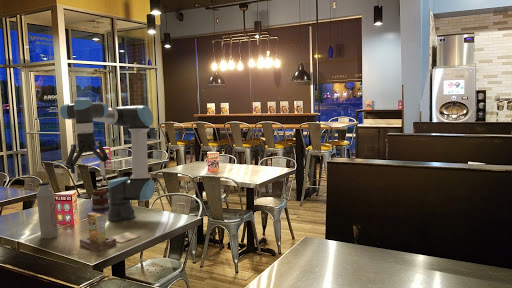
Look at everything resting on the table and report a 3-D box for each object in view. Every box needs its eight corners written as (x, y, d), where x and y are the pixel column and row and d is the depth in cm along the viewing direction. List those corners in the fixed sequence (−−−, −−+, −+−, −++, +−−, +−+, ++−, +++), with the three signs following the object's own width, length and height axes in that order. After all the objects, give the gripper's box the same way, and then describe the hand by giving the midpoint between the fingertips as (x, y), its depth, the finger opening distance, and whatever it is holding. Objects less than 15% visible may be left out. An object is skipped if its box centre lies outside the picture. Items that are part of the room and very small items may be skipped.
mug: (109, 203, 281) (107, 182, 277) (112, 212, 268) (111, 190, 265) (90, 206, 275) (88, 185, 271) (93, 215, 263) (91, 192, 259)
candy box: (89, 244, 202) (86, 213, 200) (97, 242, 205) (94, 211, 203) (98, 248, 196) (95, 216, 194) (107, 245, 199) (104, 214, 197)
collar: (99, 239, 209) (98, 233, 208) (116, 245, 199) (115, 238, 199) (80, 245, 201) (79, 239, 201) (97, 251, 192) (96, 245, 191)
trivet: (127, 233, 217) (127, 232, 217) (140, 236, 210) (140, 235, 210) (108, 239, 208) (108, 238, 208) (121, 243, 201) (120, 242, 201)
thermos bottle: (61, 233, 221) (56, 181, 218) (51, 238, 213) (45, 184, 210) (48, 233, 223) (42, 181, 220) (37, 238, 215) (31, 184, 212)
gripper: (105, 129, 206) (109, 172, 209) (54, 134, 187) (59, 181, 189) (114, 130, 201) (117, 173, 204) (62, 135, 182) (67, 183, 185)
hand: (89, 177), depth 197 cm, fingers open, 13 cm apart
